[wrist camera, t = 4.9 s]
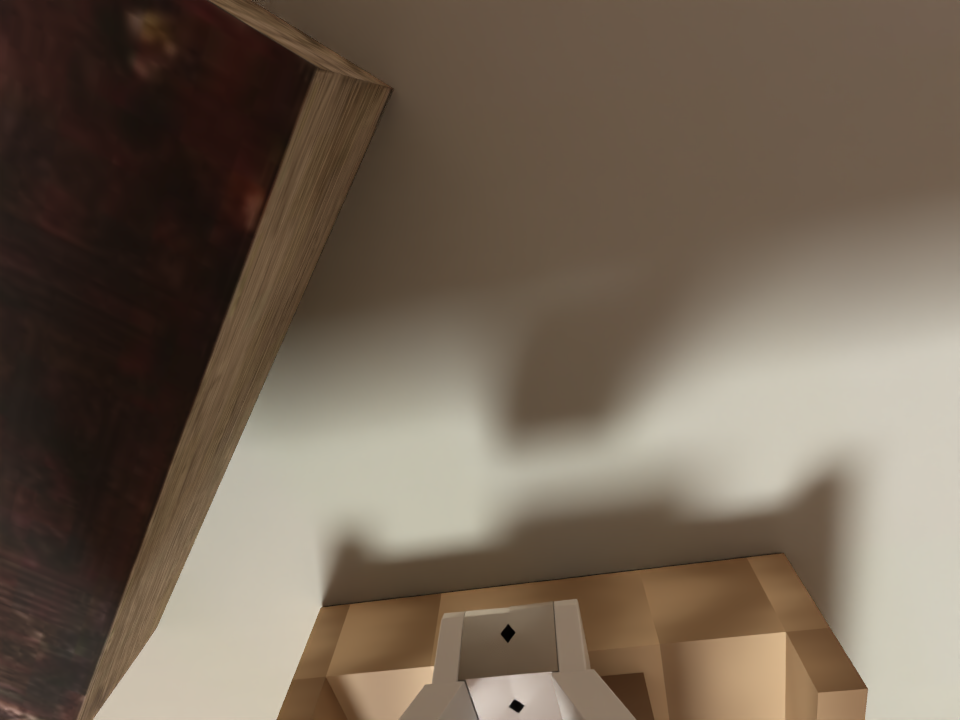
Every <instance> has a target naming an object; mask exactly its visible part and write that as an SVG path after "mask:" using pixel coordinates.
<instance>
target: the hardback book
mask: <svg viewBox="0 0 960 720" xmlns="http://www.w3.org/2000/svg"><path fill="white" fill-rule="evenodd" d="M392 91H393V88H392V87H390V86H389V85H387V84H385V83H384V82H382V81H380V80H379V79H377V78H376V77H374V76H372V75H371V74H369V73H368V72H366V71H364V70H363V69H361V68H359V67H358V66H356V65H355V64H353V63H351V62H350V61H348V60H346V59H345V58H343V57H342V56H340V55H338V54H337V53H335V52H334V51H332V50H330V49H329V48H327V47H325V46H324V45H322V44H321V43H319V42H317V41H316V40H314V39H312V38H311V37H309V36H308V35H306V34H304V33H303V32H301V31H300V30H298V29H296V28H295V27H293V26H291V25H290V24H288V23H287V22H285V21H283V20H282V19H280V18H278V17H277V16H275V15H274V14H272V13H270V12H269V11H267V10H266V9H264V8H262V7H261V6H259V5H257V4H256V3H254V2H253V1H251V0H0V720H93V718H94V717H95V715H96V714H97V713H98V711H99V710H100V708H101V707H102V706H103V704H104V703H105V701H106V700H107V698H108V697H109V696H110V694H111V693H112V691H113V690H114V688H115V687H116V686H117V684H118V683H119V681H120V680H121V679H122V677H123V676H124V674H125V673H126V671H127V670H128V669H129V667H130V666H131V664H132V663H133V661H134V660H135V659H136V657H137V656H138V654H139V653H140V652H141V650H142V649H143V647H144V646H145V644H146V643H147V641H148V640H149V638H150V637H151V635H152V634H153V632H154V631H155V629H156V628H157V626H158V623H159V621H160V619H161V617H162V614H163V612H164V610H165V607H166V605H167V603H168V601H169V598H170V596H171V594H172V592H173V589H174V587H175V585H176V582H177V580H178V578H179V576H180V573H181V571H182V569H183V567H184V564H185V562H186V560H187V557H188V555H189V553H190V551H191V548H192V546H193V544H194V542H195V539H196V537H197V535H198V532H199V530H200V528H201V526H202V523H203V521H204V519H205V517H206V514H207V512H208V510H209V507H210V505H211V503H212V501H213V498H214V496H215V494H216V491H217V489H218V487H219V485H220V482H221V480H222V478H223V476H224V473H225V471H226V469H227V466H228V464H229V462H230V460H231V457H232V455H233V453H234V451H235V448H236V446H237V444H238V441H239V439H240V437H241V435H242V432H243V430H244V428H245V426H246V423H247V421H248V419H249V416H250V414H251V412H252V410H253V407H254V405H255V403H256V401H257V398H258V396H259V394H260V391H261V389H262V387H263V385H264V382H265V380H266V378H267V375H268V373H269V371H270V369H271V366H272V364H273V362H274V360H275V357H276V355H277V353H278V350H279V348H280V346H281V344H282V341H283V339H284V337H285V335H286V332H287V330H288V328H289V325H290V323H291V321H292V319H293V316H294V314H295V312H296V310H297V307H298V305H299V303H300V300H301V298H302V296H303V294H304V291H305V289H306V287H307V285H308V282H309V280H310V278H311V275H312V273H313V271H314V269H315V266H316V264H317V262H318V259H319V257H320V255H321V253H322V250H323V248H324V246H325V244H326V241H327V239H328V237H329V234H330V232H331V230H332V228H333V225H334V223H335V221H336V219H337V216H338V214H339V212H340V209H341V207H342V205H343V203H344V200H345V198H346V196H347V194H348V191H349V189H350V187H351V184H352V182H353V180H354V178H355V175H356V173H357V171H358V169H359V166H360V164H361V162H362V159H363V157H364V155H365V153H366V150H367V148H368V146H369V144H370V141H371V139H372V137H373V134H374V132H375V130H376V128H377V125H378V123H379V121H380V118H381V116H382V114H383V112H384V109H385V107H386V105H387V103H388V100H389V98H390V96H391V93H392Z"/></svg>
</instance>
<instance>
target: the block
mask: <svg viewBox="0 0 960 720" xmlns="http://www.w3.org/2000/svg"><path fill="white" fill-rule="evenodd" d="M600 677H601V678H602V679H603V681H604V682H605V683H606V684H607V685H608V687H609V688H610V689H611V690H612V691H613V693H614V694H615V695H616V696H617V697H618V699H619V700H620V701H621V702H622V703H623V704H624V706H625V707H626V708H627V709H628V710H629V712H630V713H631V714H632V715H633V716H634V718H635V719H636V720H654V716H653V712H652V707H651V703H650V699H649V695H648V690H647V686H646V682H645V677H644V673H643V672H642V673H630V674H619V675H608V676H600Z"/></svg>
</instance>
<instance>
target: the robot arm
mask: <svg viewBox="0 0 960 720" xmlns="http://www.w3.org/2000/svg"><path fill="white" fill-rule="evenodd" d="M399 720H636V719H635V718H634V716H633V715H632V714H631V713H630V712H629V710H628V709H627V708H626V707H625V706H624V704H623V703H622V702H621V701H620V700H619V699H618V697H617V696H616V695H615V694H614V693H613V691H612V690H611V689H610V688H609V687H608V685H607V684H606V683H605V682H604V681H603V679H602V678H601V677H600V676H599V675H598V674H597V672H596V671H595V670H594V669H591V667H590V661H589V655H588V650H587V644H586V639H585V633H584V628H583V623H582V618H581V613H580V608H579V603H578V600H577V599H571V600H562V601H550V602H542V603H534V604H526V605H518V606H510V607H508V608H496V609H484V610H472V611H463V612H452V613H444V615H443V617H442V619H441V624H440V630H439V637H438V644H437V651H436V657H435V664H434V671H433V678H432V684H426V685H424V687H423V688H422V689H421V691H420V692H419V693H418V695H417V696H416V697H415V699H414V700H413V701H412V703H411V704H410V705H409V707H408V708H407V709H406V711H405V712H404V713H403V715H402V716H401V717H400V718H399Z"/></svg>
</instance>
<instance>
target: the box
mask: <svg viewBox="0 0 960 720" xmlns="http://www.w3.org/2000/svg"><path fill="white" fill-rule="evenodd" d="M571 599H577V600H578V603H579V608H580V613H581V618H582V623H583V628H584V633H585V639H586V644H587V650H588V655H589V661H590V667H591V669H594V670H595V671H596V672H597V674H598V675H599V676H608V675H619V674H630V673H642V672H643V673H644V677H645V682H646V686H647V690H648V695H649V699H650V703H651V707H652V712H653V716H654V720H865V712H866V702H867V693H868V688H867V687H866V685H865V683H864V682H863V680H862V678H861V677H860V675H859V674H858V672H857V670H856V669H855V667H854V666H853V664H852V662H851V661H850V659H849V658H848V656H847V654H846V653H845V651H844V649H843V648H842V646H841V645H840V643H839V641H838V640H837V638H836V637H835V635H834V633H833V632H832V630H831V628H830V627H829V625H828V624H827V622H826V620H825V619H824V617H823V616H822V614H821V612H820V611H819V609H818V607H817V606H816V604H815V603H814V601H813V599H812V598H811V596H810V595H809V593H808V591H807V590H806V588H805V587H804V585H803V583H802V582H801V580H800V578H799V577H798V575H797V574H796V572H795V570H794V569H793V567H792V566H791V564H790V562H789V561H788V559H787V557H786V556H785V554H784V553H780V554H772V555H763V556H755V557H746V558H738V559H729V560H721V561H712V562H704V563H695V564H687V565H678V566H670V567H661V568H653V569H644V570H636V571H627V572H619V573H610V574H602V575H593V576H585V577H576V578H568V579H559V580H551V581H542V582H534V583H525V584H517V585H508V586H500V587H491V588H483V589H474V590H466V591H457V592H449V593H440V594H432V595H423V596H415V597H406V598H398V599H389V600H381V601H372V602H364V603H355V604H347V605H338V606H330V607H321V609H320V611H319V614H318V616H317V619H316V621H315V624H314V626H313V629H312V632H311V634H310V637H309V639H308V642H307V644H306V647H305V649H304V652H303V654H302V657H301V659H300V662H299V664H298V667H297V669H296V672H295V674H294V677H293V679H292V682H291V685H290V687H289V690H288V692H287V695H286V697H285V700H284V702H283V705H282V707H281V710H280V712H279V715H278V717H277V720H399V718H400V717H401V716H402V715H403V713H404V712H405V711H406V709H407V708H408V707H409V705H410V704H411V703H412V701H413V700H414V699H415V697H416V696H417V695H418V693H419V692H420V691H421V689H422V688H423V687H424V685H426V684H432V678H433V671H434V664H435V657H436V651H437V644H438V637H439V630H440V624H441V619H442V617H443V615H444V613H452V612H463V611H472V610H484V609H496V608H508V607H510V606H518V605H526V604H534V603H542V602H550V601H562V600H571Z"/></svg>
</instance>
